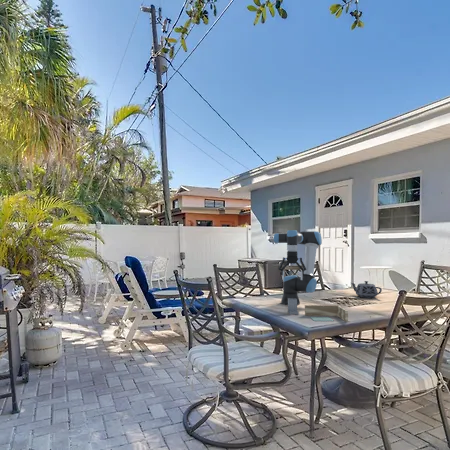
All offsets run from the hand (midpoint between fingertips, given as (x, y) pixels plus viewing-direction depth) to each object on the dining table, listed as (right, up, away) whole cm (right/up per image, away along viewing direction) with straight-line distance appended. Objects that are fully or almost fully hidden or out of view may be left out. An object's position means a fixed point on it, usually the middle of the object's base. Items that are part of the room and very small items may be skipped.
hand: (292, 279), depth 242 cm
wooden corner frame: (+19, -23, -17) cm, 35 cm away
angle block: (0, -24, -3) cm, 24 cm away
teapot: (+82, -27, +66) cm, 109 cm away
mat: (+15, -23, -21) cm, 35 cm away
